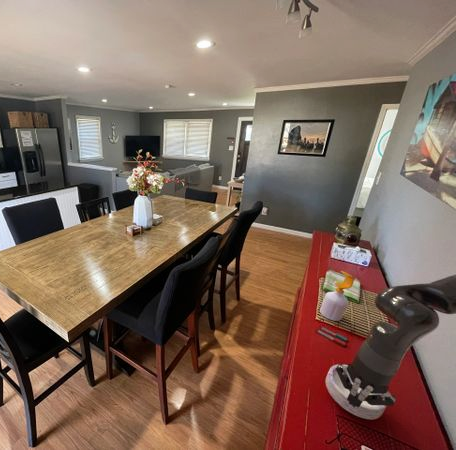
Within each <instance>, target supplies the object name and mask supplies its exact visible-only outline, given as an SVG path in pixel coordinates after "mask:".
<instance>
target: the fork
mask: <svg viewBox="0 0 456 450" xmlns="http://www.w3.org/2000/svg"><path fill="white" fill-rule="evenodd" d="M320 330H321V331H323V332H325V333H327V334H330V335H331V336H334V337H336V338H338V339H339V340H341V341H343V342H345V343H347V341H348V338H347V337H345V336H344V335H341V334H339V333H338V332H336V333H334V332H333V331H331V330H330V329H327V328H325V327H323V326H322V327H321V329H320Z"/></svg>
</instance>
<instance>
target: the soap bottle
mask: <svg viewBox="0 0 456 450" xmlns="http://www.w3.org/2000/svg"><path fill="white" fill-rule="evenodd" d="M340 273H341V274H342V275H345V276H346V277H345V279H344V281H343V282H341V283H335V285H337V286H338V288H336V290H335V292H326V293H325V295H324V297H323V300H322V303H321V306H320V308H319V312H320V314H321V315H322V316H323V317H324V318H326V319H328V320H330V321H333V322H339V321H341V320H342V319H343V316H344V314H345V311H346V310H347V307H348V305H349V299H347V298H346V297H345V296H344V295H343V294H344V290H343V289H348V288H351V287H352V285H353V282H354V280H355V279H356V278H355V277H354V276H352V275H351V274H350V273H348V272H346V271H343V270H340Z"/></svg>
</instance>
